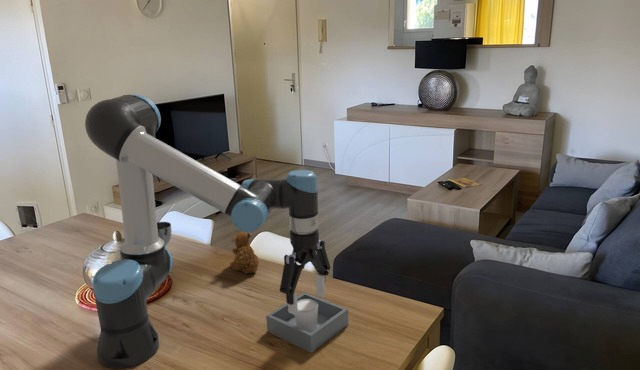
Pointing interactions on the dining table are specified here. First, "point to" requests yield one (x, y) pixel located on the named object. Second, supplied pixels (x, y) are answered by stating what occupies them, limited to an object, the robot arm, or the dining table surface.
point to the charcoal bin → (327, 326)
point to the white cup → (307, 315)
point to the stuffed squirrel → (244, 254)
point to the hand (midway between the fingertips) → (307, 304)
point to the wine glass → (164, 232)
